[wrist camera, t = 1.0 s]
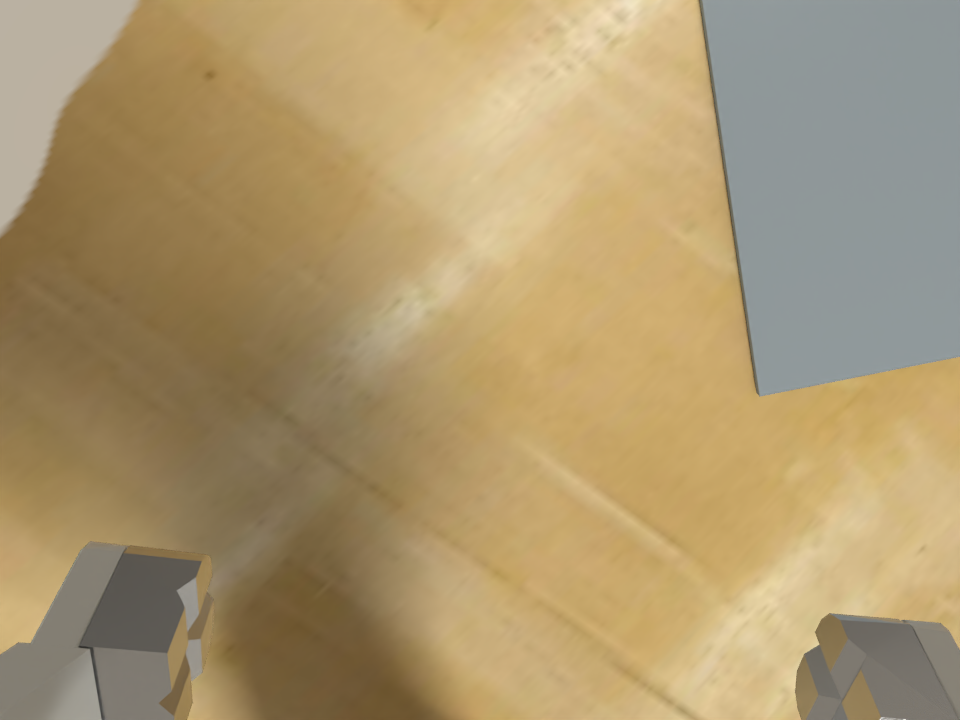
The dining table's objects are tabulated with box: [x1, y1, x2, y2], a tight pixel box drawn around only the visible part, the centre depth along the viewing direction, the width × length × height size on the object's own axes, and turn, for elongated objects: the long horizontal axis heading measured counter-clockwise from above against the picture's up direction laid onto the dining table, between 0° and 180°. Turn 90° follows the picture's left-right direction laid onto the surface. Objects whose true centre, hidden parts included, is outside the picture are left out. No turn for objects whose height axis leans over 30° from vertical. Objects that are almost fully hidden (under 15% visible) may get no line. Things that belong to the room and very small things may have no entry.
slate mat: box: [700, 0, 960, 396], centre depth 43 cm, size 20×18×1 cm
